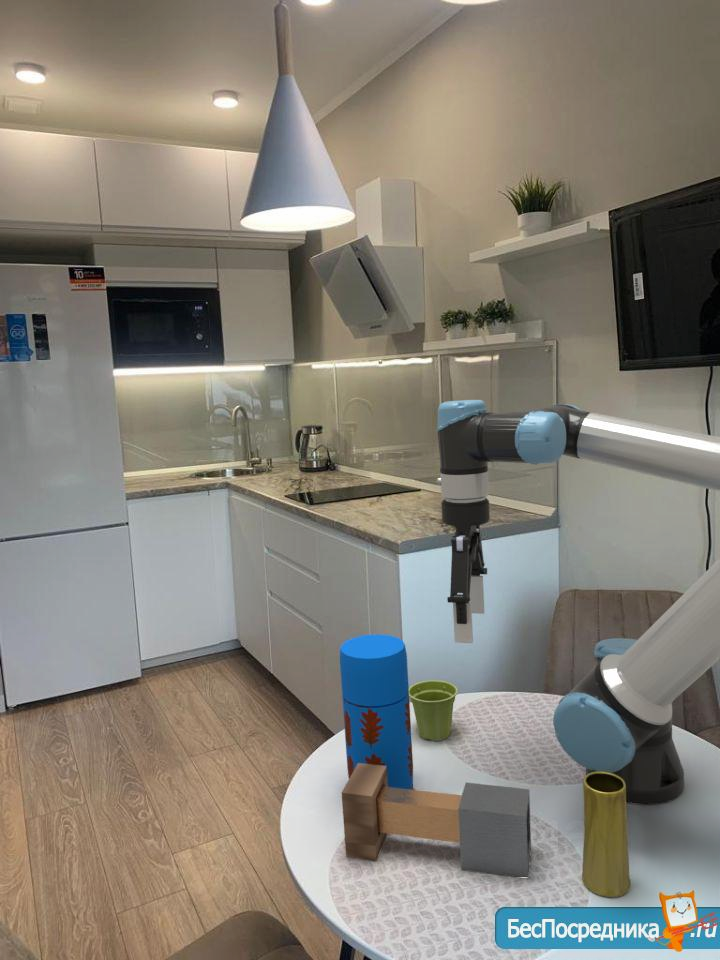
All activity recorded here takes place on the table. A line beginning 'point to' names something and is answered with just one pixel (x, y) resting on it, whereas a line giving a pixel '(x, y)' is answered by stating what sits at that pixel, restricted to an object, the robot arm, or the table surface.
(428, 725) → the plant pot
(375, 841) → the socket block
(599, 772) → the vase
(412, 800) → the rectangular peg
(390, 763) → the thermos
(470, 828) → the sleeve
